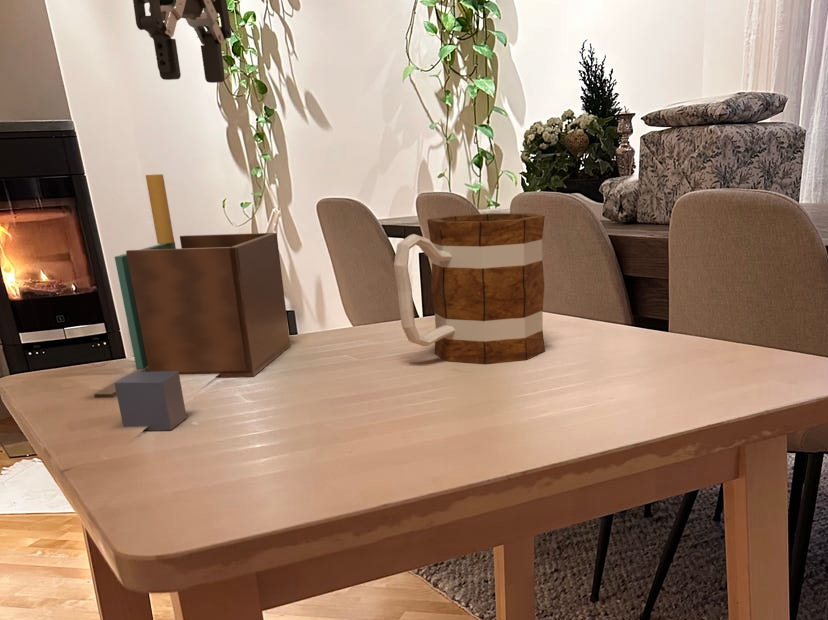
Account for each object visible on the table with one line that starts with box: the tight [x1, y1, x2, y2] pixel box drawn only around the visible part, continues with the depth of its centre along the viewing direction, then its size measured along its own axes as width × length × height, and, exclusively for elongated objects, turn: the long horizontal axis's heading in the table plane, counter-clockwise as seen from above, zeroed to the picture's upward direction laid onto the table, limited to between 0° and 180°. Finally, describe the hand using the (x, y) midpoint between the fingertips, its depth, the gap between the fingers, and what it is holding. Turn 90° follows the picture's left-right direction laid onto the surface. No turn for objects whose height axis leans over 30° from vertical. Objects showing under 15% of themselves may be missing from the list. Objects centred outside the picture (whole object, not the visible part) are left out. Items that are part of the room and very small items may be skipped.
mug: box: [393, 212, 546, 365], centre depth 110 cm, size 20×14×15 cm
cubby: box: [93, 232, 291, 399], centre depth 108 cm, size 14×28×14 cm, turn 177°
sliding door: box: [114, 173, 177, 370], centre depth 111 cm, size 2×17×20 cm, turn 177°
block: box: [113, 371, 188, 432], centre depth 89 cm, size 4×4×4 cm
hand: (193, 80), depth 107 cm, fingers open, 8 cm apart
